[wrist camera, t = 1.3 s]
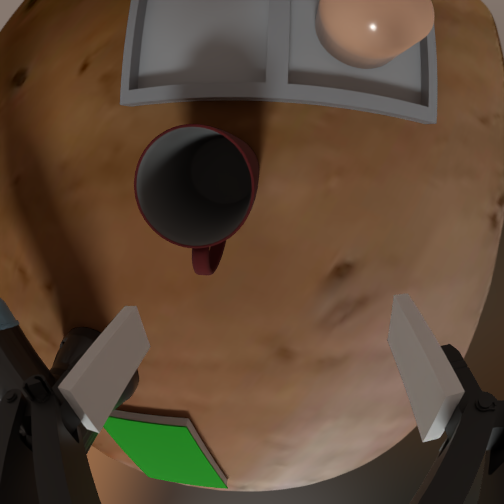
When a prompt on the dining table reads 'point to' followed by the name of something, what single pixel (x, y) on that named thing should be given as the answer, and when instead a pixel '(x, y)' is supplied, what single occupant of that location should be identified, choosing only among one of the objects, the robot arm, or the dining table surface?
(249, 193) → the mug
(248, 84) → the holder
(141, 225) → the dining table surface
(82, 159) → the dining table surface
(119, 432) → the book
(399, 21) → the peach rounded cylinder
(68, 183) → the dining table surface
